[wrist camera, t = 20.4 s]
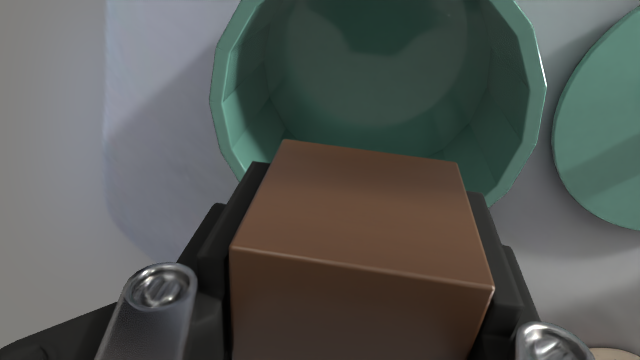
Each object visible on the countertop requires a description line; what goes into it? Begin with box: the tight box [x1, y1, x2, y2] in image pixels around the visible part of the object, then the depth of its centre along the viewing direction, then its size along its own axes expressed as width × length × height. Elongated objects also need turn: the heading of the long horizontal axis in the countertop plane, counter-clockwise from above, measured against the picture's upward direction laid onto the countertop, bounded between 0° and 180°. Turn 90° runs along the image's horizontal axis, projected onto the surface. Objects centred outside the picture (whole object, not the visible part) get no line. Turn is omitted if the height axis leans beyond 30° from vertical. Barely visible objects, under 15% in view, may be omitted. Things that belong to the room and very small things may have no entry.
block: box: [229, 139, 495, 360], centre depth 10 cm, size 4×4×4 cm
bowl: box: [209, 0, 547, 208], centre depth 21 cm, size 13×13×8 cm
